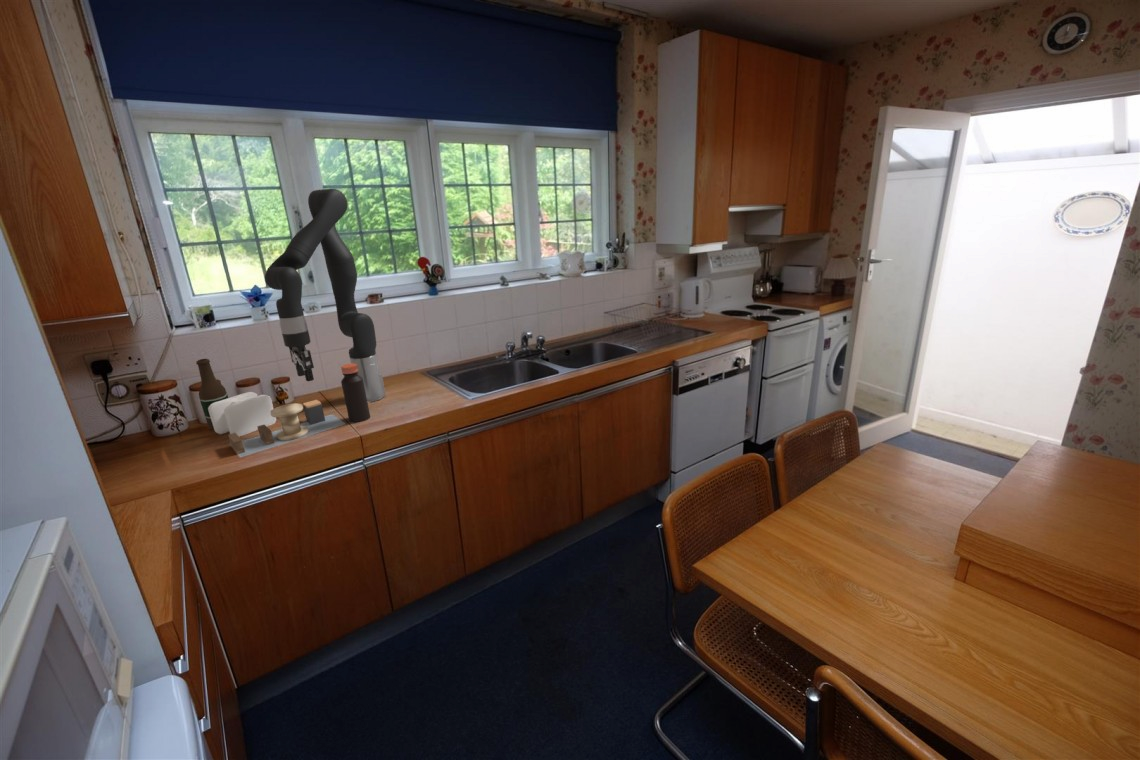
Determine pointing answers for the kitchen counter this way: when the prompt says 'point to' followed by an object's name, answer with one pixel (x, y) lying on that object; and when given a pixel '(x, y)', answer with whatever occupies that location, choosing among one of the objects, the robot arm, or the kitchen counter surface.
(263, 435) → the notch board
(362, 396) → the vinegar
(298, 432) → the bobbin
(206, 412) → the beer bottle
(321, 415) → the dark grey upright block
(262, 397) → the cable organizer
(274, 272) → the robot arm
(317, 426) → the winding board
